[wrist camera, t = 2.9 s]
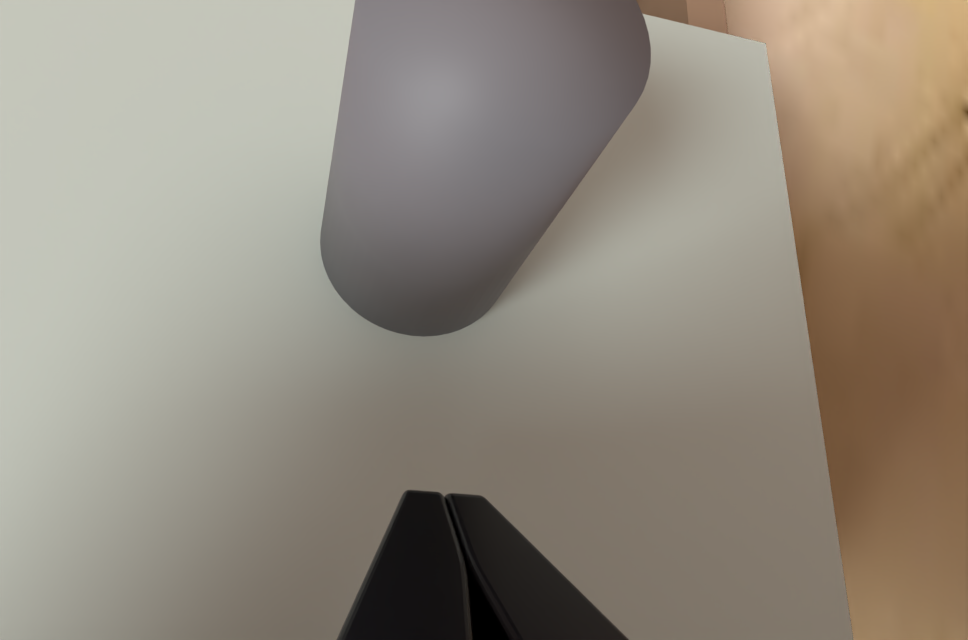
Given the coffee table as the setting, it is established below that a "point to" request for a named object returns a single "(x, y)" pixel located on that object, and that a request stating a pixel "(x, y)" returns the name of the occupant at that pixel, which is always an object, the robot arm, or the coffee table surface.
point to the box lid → (397, 314)
